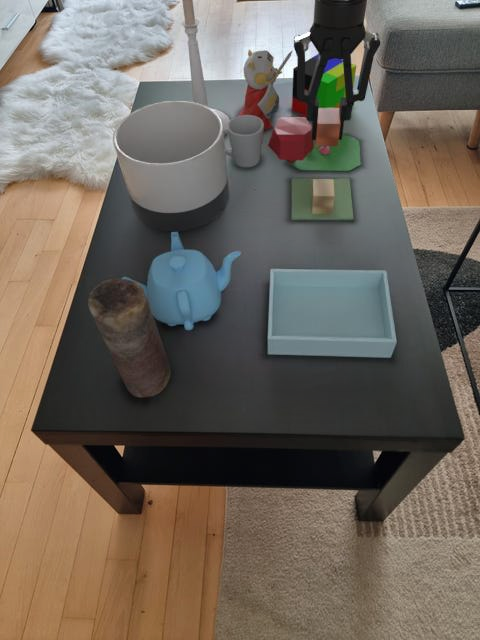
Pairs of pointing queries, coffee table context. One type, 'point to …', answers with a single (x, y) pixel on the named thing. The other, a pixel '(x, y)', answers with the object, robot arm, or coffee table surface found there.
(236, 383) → the coffee table surface
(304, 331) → the box
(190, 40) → the candlestick
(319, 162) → the low-poly diorama
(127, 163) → the planter
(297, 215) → the mat
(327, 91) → the puzzle toy
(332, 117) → the terracotta piece
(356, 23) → the robot arm
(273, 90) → the figurine
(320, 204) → the birch piece
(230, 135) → the cup
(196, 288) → the teapot
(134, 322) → the candle
